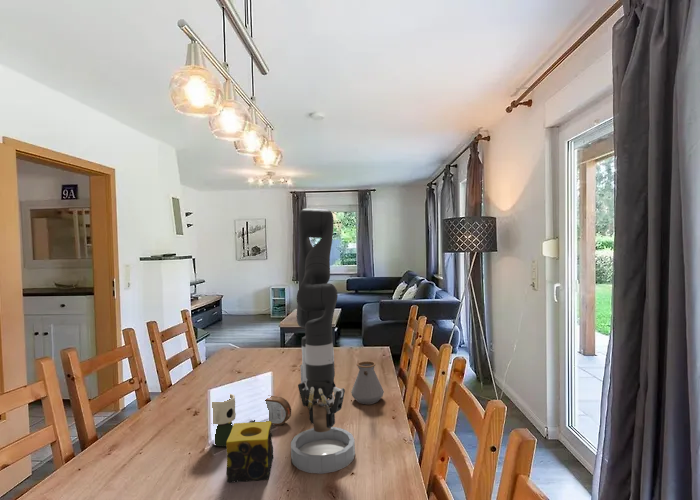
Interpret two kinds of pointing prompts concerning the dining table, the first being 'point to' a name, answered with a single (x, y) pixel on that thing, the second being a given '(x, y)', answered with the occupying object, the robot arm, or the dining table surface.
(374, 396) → the coffee pot
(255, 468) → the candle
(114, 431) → the dining table surface
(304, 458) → the round tray
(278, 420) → the tin
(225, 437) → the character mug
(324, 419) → the walnut bead
